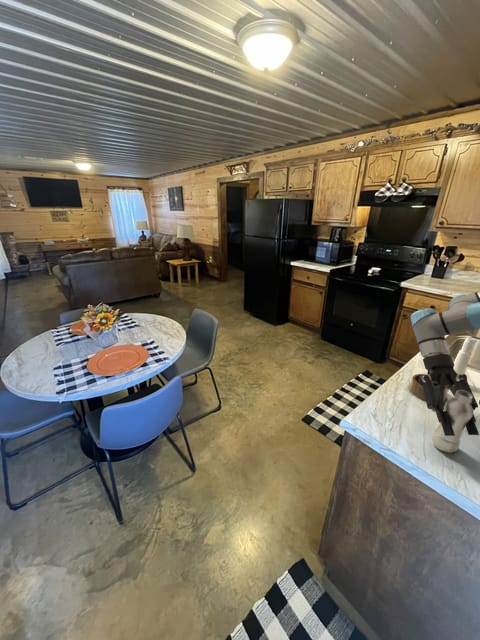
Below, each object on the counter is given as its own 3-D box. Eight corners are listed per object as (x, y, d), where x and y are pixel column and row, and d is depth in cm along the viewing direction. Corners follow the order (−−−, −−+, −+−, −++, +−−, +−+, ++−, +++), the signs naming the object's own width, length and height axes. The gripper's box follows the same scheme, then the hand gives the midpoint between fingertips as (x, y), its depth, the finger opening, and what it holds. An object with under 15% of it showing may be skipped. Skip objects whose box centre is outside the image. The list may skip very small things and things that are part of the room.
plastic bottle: (425, 439, 83) (444, 387, 76) (445, 438, 84) (465, 386, 76) (440, 456, 77) (463, 401, 70) (462, 455, 78) (486, 400, 70)
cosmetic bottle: (442, 379, 114) (459, 334, 106) (460, 384, 112) (478, 337, 103) (444, 386, 110) (461, 339, 101) (462, 391, 107) (482, 343, 98)
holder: (444, 394, 104) (449, 381, 102) (442, 410, 96) (448, 395, 94) (410, 383, 111) (415, 370, 109) (406, 397, 103) (410, 383, 100)
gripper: (455, 358, 87) (482, 434, 78) (399, 359, 86) (420, 436, 77) (475, 352, 80) (507, 434, 71) (414, 353, 79) (439, 436, 70)
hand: (461, 435), depth 74 cm, fingers closed on plastic bottle, 6 cm apart
